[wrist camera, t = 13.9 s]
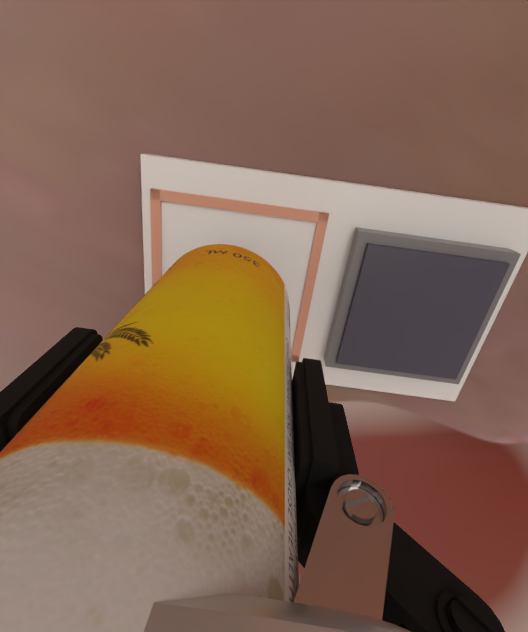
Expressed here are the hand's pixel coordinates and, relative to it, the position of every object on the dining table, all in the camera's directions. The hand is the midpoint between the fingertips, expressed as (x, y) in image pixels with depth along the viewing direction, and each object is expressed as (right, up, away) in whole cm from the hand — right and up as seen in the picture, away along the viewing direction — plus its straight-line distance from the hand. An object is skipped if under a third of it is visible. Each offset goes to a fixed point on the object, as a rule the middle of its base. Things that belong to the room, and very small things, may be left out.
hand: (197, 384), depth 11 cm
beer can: (0, +3, +6) cm, 7 cm away
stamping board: (+5, +4, +9) cm, 11 cm away
